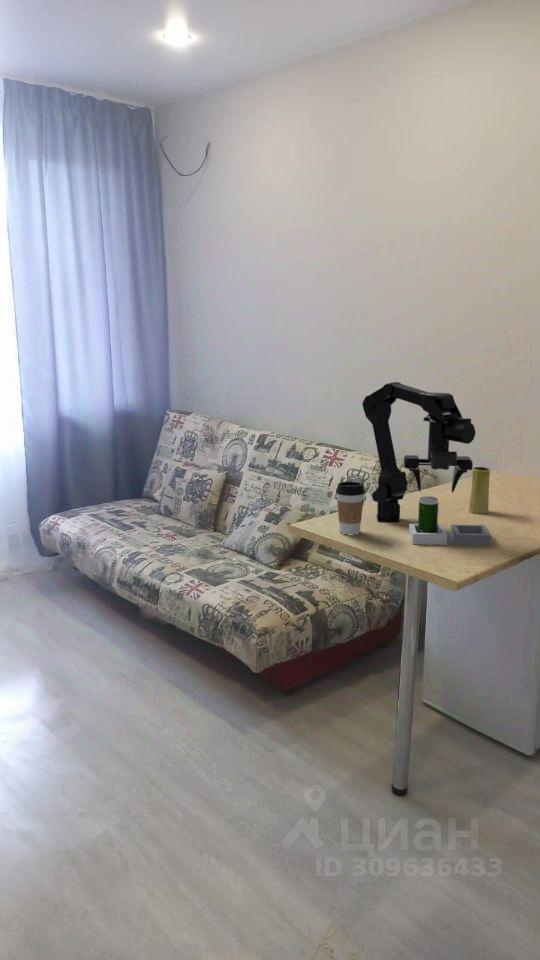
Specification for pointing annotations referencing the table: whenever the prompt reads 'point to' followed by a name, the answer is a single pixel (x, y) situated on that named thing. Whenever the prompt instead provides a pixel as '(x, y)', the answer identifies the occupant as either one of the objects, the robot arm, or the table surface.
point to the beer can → (428, 515)
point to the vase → (480, 490)
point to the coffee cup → (350, 506)
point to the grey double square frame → (452, 535)
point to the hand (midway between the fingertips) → (436, 491)
